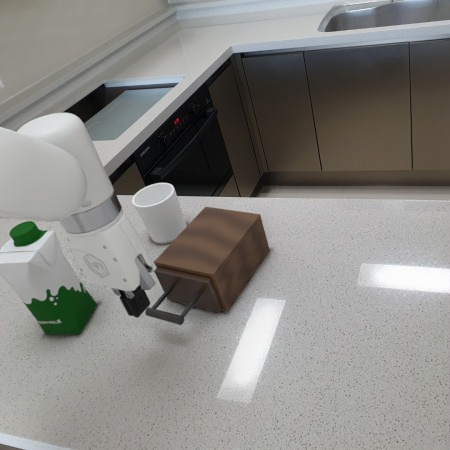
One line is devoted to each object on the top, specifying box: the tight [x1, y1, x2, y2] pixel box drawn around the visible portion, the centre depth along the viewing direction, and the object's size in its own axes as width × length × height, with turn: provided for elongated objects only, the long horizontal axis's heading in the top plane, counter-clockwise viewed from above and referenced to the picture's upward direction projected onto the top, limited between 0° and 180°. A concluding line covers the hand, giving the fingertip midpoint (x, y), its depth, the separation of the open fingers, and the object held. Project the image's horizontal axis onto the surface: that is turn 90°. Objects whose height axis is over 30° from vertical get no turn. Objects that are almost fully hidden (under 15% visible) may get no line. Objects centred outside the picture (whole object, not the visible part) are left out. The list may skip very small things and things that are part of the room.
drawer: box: [144, 266, 223, 326], centre depth 82 cm, size 22×11×7 cm, turn 156°
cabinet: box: [153, 206, 271, 312], centre depth 86 cm, size 17×13×9 cm
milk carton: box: [0, 220, 98, 336], centre depth 79 cm, size 9×9×20 cm
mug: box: [131, 182, 188, 245], centre depth 100 cm, size 11×9×10 cm
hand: (140, 309), depth 70 cm, fingers closed
